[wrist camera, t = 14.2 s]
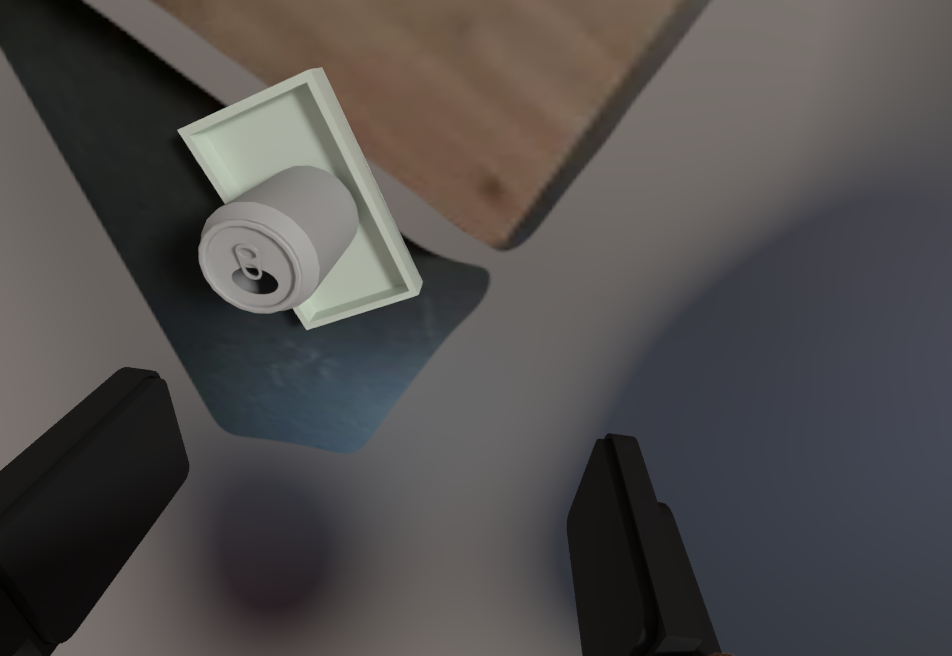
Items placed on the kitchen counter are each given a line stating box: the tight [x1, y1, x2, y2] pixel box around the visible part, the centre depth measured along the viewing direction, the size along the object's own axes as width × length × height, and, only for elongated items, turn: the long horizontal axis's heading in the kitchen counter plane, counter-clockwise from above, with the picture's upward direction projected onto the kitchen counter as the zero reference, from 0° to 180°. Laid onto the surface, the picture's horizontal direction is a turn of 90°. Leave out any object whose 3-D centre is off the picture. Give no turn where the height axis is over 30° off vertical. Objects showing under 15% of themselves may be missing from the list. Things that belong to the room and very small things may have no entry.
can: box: [198, 166, 359, 313], centre depth 33 cm, size 8×8×12 cm
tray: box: [177, 67, 423, 330], centre depth 38 cm, size 18×11×2 cm, turn 20°
